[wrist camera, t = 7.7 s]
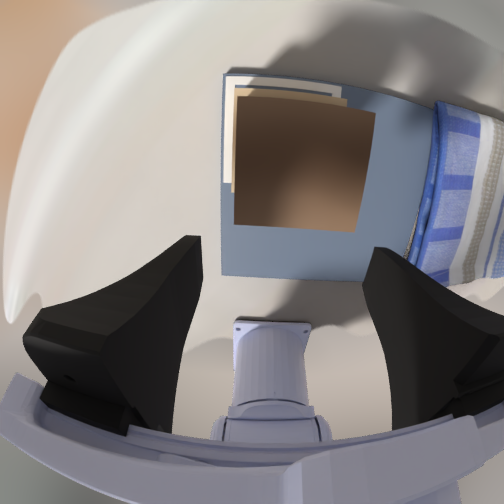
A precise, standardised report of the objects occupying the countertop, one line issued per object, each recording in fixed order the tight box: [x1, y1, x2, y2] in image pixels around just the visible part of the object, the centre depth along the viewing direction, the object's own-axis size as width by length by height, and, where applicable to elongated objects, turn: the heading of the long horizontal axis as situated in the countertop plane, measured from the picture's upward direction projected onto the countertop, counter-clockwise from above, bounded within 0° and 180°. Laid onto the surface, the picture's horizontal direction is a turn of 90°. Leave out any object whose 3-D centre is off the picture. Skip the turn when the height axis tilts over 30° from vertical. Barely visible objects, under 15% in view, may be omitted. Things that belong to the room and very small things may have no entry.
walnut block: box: [234, 96, 376, 233], centre depth 10 cm, size 4×4×5 cm
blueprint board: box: [221, 74, 434, 282], centre depth 19 cm, size 16×16×1 cm
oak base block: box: [231, 88, 347, 193], centre depth 15 cm, size 6×6×5 cm
